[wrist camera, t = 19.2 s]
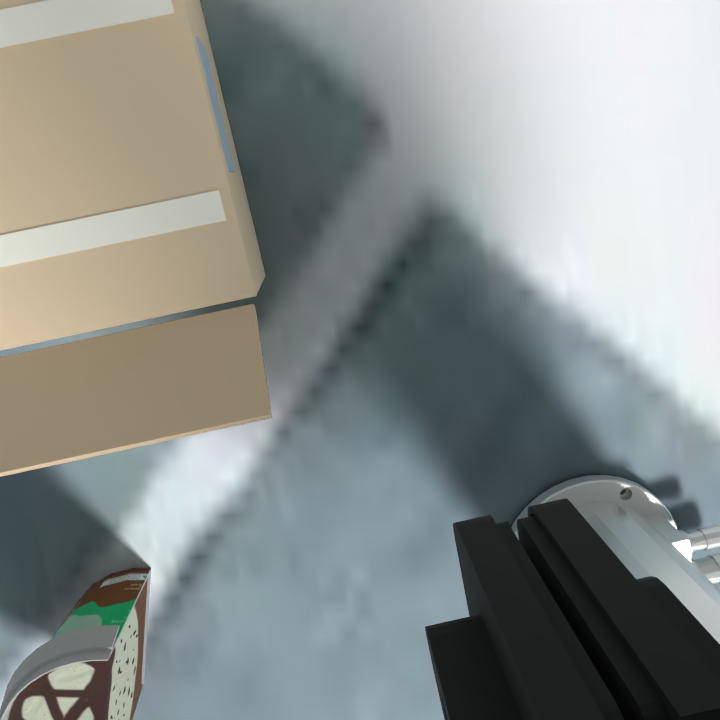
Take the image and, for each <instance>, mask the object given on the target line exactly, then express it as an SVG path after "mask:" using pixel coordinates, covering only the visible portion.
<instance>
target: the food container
mask: <svg viewBox="0 0 720 720" xmlns="http://www.w3.org/2000/svg"><path fill="white" fill-rule="evenodd" d="M150 578H151V568H132V569H128V570H124V571H120V572H116V573H112V574H110V575H108V576H107V577H105V578H103V579H102V580H100V581H98V582H96V583H95V584H93V585H92V586H91V587H90V588H89V590H88V591H87V592H86V593H85V594H84V595H83V597H82V598H81V599H80V600H79V601H78V603H77V604H76V606H75V607H74V609H73V610H72V611H71V613H70V614H69V616H68V617H67V619H66V620H65V621H64V623H63V624H62V626H61V627H60V629H59V630H58V631H57V633H56V634H55V636H54V637H53V638H52V640H50V641H48V642H47V643H45V644H44V645H42V646H41V647H39V648H37V649H36V650H35V651H34V652H33V653H32V654H30V655H29V656H28V657H27V658H26V659H25V660H24V661H23V662H22V664H21V665H20V666H19V667H18V669H17V670H16V671H15V672H14V674H13V676H12V678H11V680H10V682H9V684H8V686H7V689H6V692H5V696H4V699H3V702H2V706H1V709H0V720H134V716H135V713H136V709H137V706H138V703H139V699H140V696H141V693H142V689H143V686H144V675H145V659H146V642H147V626H148V610H149V594H150Z"/></svg>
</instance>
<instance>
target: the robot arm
mask: <svg viewBox="0 0 720 720" xmlns="http://www.w3.org/2000/svg"><path fill="white" fill-rule="evenodd" d="M453 528H454V535H455V541H456V546H457V552H458V557H459V562H460V567H461V573H462V578H463V583H464V589H465V594H466V599H467V605H468V610H469V615H470V617H466V618H462V619H457V620H453V621H449V622H444V623H440V624H435V625H431V626H426V627H425V630H426V635H427V640H428V645H429V650H430V655H431V659H432V664H433V669H434V674H435V678H436V683H437V688H438V692H439V696H440V701H441V705H442V710H443V714H444V718H445V720H720V590H719V589H718V588H717V587H716V586H715V585H714V584H716V583H717V584H720V553H717V554H713V555H709V556H706V558H701V559H697V560H693V559H692V558H691V556H693V552H695V551H699V550H703V549H704V550H708V549H713V548H717V547H720V527H719V526H716V525H715V526H711V527H706V528H702V529H698V530H696V531H693V532H689V533H686V532H685V531H683V530H678V529H677V525H676V523H675V521H674V519H673V517H672V515H671V513H670V512H669V510H668V509H667V508H666V507H665V506H664V504H663V503H662V502H661V501H660V500H659V499H658V498H657V497H656V496H655V495H653V494H652V493H651V492H650V491H649V490H647V489H646V488H644V487H642V486H641V485H639V484H637V483H636V482H633V481H630V480H627V479H624V478H622V477H616V476H609V475H588V476H583V477H578V478H574V479H570V480H567V481H565V482H562V483H560V484H558V485H555V486H553V487H551V488H550V489H548V490H547V491H545V492H543V493H542V494H540V495H539V496H538V497H536V498H535V499H534V500H533V501H532V502H531V503H530V504H528V505H527V506H526V507H525V508H524V510H523V511H522V512H521V513H520V515H519V516H518V517H517V518H516V520H515V521H514V523H513V525H512V527H510V525H509V524H508V522H503V523H498V524H496V523H495V522H494V520H493V518H492V517H491V515H488V516H483V517H479V518H474V519H470V520H465V521H461V522H456V523H453Z"/></svg>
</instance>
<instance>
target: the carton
mask: <svg viewBox="0 0 720 720" xmlns="http://www.w3.org/2000/svg"><path fill="white" fill-rule="evenodd" d="M265 276H266V274H265V270H264V266H263V262H262V257H261V253H260V249H259V245H258V241H257V237H256V232H255V228H254V224H253V220H252V216H251V212H250V207H249V203H248V199H247V195H246V191H245V187H244V182H243V178H242V174H241V170H240V166H239V162H238V157H237V153H236V149H235V145H234V141H233V137H232V132H231V128H230V124H229V120H228V116H227V112H226V107H225V103H224V99H223V95H222V91H221V87H220V82H219V78H218V74H217V70H216V66H215V61H214V57H213V53H212V49H211V45H210V41H209V36H208V32H207V28H206V24H205V20H204V16H203V11H202V7H201V3H200V0H0V350H5V349H10V348H14V347H19V346H24V345H28V344H33V343H38V342H43V341H47V340H52V339H57V338H61V337H66V336H71V335H76V334H80V333H85V332H90V331H95V330H99V329H104V328H109V327H113V326H118V325H123V324H128V323H132V322H137V321H142V320H146V319H151V318H156V317H161V316H165V315H170V314H175V313H179V312H184V311H189V310H194V309H198V308H203V307H208V306H212V305H217V304H222V303H227V302H231V301H236V300H241V299H245V298H250V297H255V296H256V295H257V293H258V291H259V289H260V287H261V285H262V282H263V280H264V278H265Z"/></svg>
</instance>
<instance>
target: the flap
mask: <svg viewBox="0 0 720 720" xmlns="http://www.w3.org/2000/svg"><path fill="white" fill-rule="evenodd" d="M268 418H272V414H271V407H270V401H269V394H268V388H267V381H266V374H265V368H264V361H263V354H262V348H261V341H260V334H259V328H258V321H257V314H256V308H255V305H254V304H250V305H245V306H240V307H235V308H231V309H226V310H221V311H217V312H212V313H207V314H202V315H198V316H193V317H188V318H184V319H179V320H174V321H169V322H165V323H160V324H155V325H151V326H146V327H141V328H136V329H132V330H127V331H122V332H118V333H113V334H108V335H104V336H99V337H94V338H89V339H85V340H80V341H75V342H71V343H66V344H61V345H56V346H52V347H47V348H42V349H38V350H33V351H28V352H23V353H19V354H14V355H9V356H5V357H0V477H1V476H6V475H11V474H15V473H20V472H24V471H29V470H34V469H38V468H43V467H47V466H52V465H57V464H61V463H66V462H70V461H75V460H80V459H84V458H89V457H93V456H98V455H103V454H107V453H112V452H116V451H121V450H126V449H130V448H135V447H139V446H144V445H149V444H153V443H158V442H162V441H167V440H172V439H176V438H181V437H185V436H190V435H195V434H199V433H204V432H209V431H213V430H218V429H222V428H227V427H232V426H236V425H241V424H245V423H250V422H255V421H259V420H264V419H268Z"/></svg>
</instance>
